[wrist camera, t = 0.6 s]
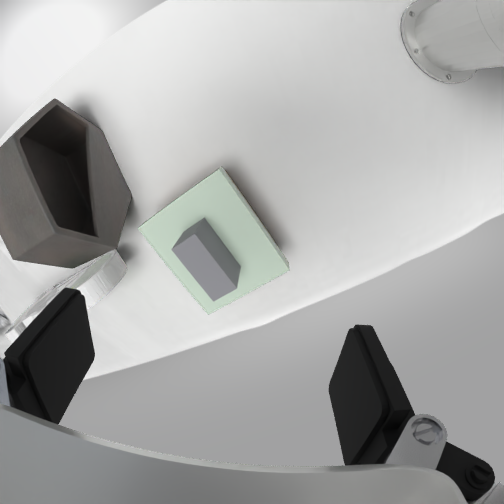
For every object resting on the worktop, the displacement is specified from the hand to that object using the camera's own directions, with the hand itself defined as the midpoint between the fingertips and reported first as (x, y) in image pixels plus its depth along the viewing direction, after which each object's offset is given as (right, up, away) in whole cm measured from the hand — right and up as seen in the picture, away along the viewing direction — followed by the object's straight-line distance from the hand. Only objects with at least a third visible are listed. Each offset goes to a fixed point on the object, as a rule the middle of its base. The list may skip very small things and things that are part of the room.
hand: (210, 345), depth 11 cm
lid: (-3, +4, +28) cm, 28 cm away
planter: (-20, +14, +30) cm, 39 cm away
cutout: (-26, -1, +37) cm, 45 cm away
